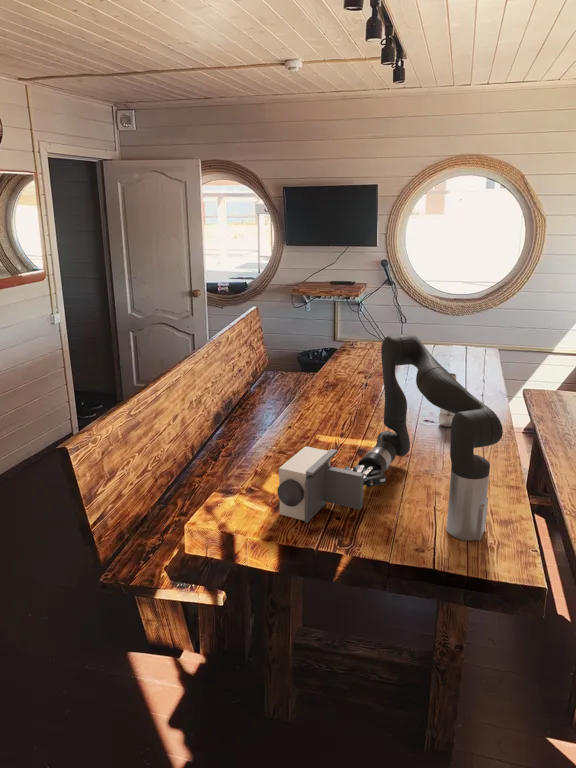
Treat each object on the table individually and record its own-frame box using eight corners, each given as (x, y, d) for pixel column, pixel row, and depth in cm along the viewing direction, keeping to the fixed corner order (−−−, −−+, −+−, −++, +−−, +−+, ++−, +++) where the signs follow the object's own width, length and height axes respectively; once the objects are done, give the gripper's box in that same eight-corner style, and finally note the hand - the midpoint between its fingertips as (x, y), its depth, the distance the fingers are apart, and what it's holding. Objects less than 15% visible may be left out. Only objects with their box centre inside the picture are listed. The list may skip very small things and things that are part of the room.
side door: (362, 509, 167) (363, 470, 163) (344, 532, 156) (345, 490, 152) (325, 500, 172) (325, 462, 168) (304, 522, 161) (304, 481, 158)
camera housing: (336, 497, 176) (337, 450, 172) (309, 526, 161) (309, 475, 157) (305, 489, 181) (305, 443, 176) (276, 517, 166) (275, 468, 161)
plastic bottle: (455, 429, 224) (460, 377, 217) (437, 427, 226) (440, 376, 219) (457, 423, 229) (461, 372, 223) (438, 421, 231) (442, 371, 225)
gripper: (354, 447, 183) (330, 470, 168) (397, 456, 177) (376, 480, 162) (354, 470, 185) (330, 494, 171) (395, 479, 179) (375, 505, 165)
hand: (353, 487), depth 167 cm, fingers closed
